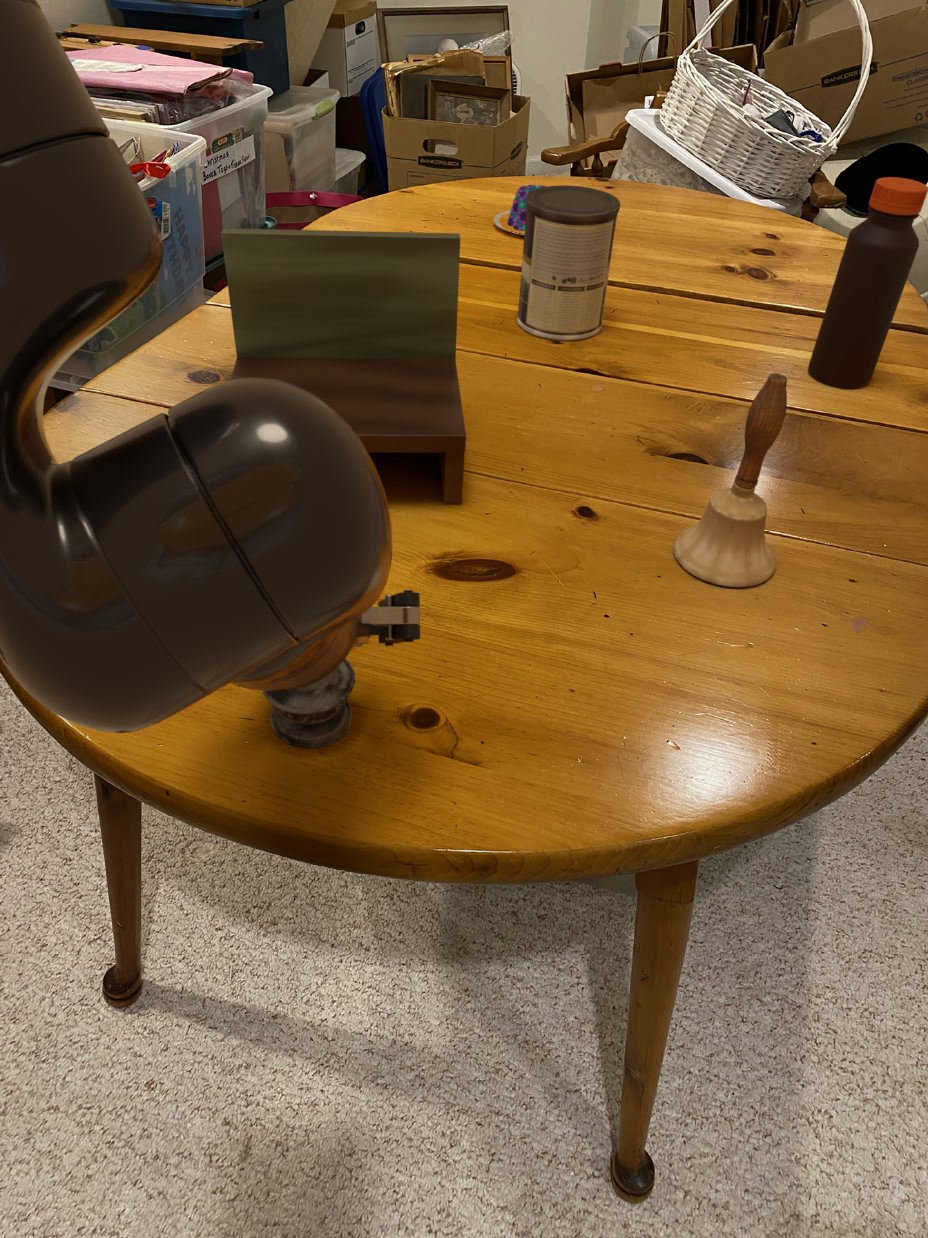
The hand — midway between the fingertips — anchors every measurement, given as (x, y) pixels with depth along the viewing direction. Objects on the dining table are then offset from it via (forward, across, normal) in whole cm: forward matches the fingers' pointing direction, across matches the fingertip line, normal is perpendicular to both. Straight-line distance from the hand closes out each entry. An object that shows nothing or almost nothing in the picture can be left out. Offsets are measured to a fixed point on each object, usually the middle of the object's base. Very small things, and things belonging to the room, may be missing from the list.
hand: (307, 628), depth 58 cm
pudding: (+72, -27, -63) cm, 100 cm away
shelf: (+25, -2, -16) cm, 30 cm away
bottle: (+39, -55, -30) cm, 74 cm away
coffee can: (+48, -26, -39) cm, 67 cm away
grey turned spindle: (+3, 0, +6) cm, 7 cm away
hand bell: (+15, -33, -6) cm, 37 cm away
